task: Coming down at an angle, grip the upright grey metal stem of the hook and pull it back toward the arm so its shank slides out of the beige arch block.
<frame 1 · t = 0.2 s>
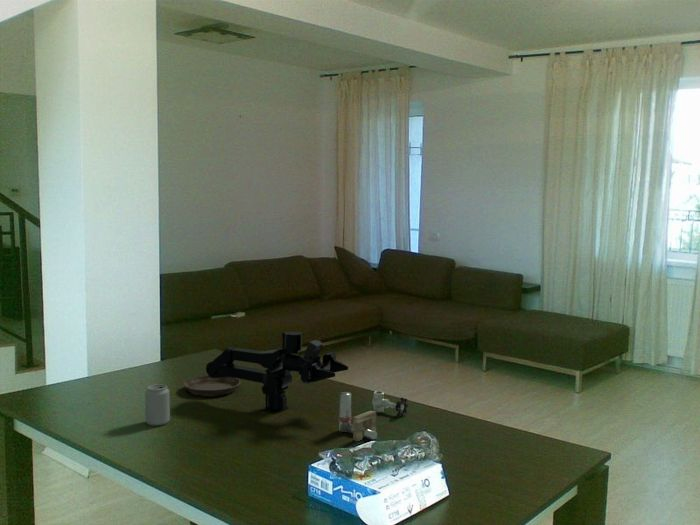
hand: (341, 371, 218), 16 cm above the table, tool horizontal, fingers open, 9 cm apart
plant saucer: (212, 391, 252), on the table
beige arch block: (364, 438, 204), on the table
can: (157, 423, 216), on the table
valve: (388, 414, 227), on the table
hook: (345, 431, 210), on the table, slide at 0.0 cm
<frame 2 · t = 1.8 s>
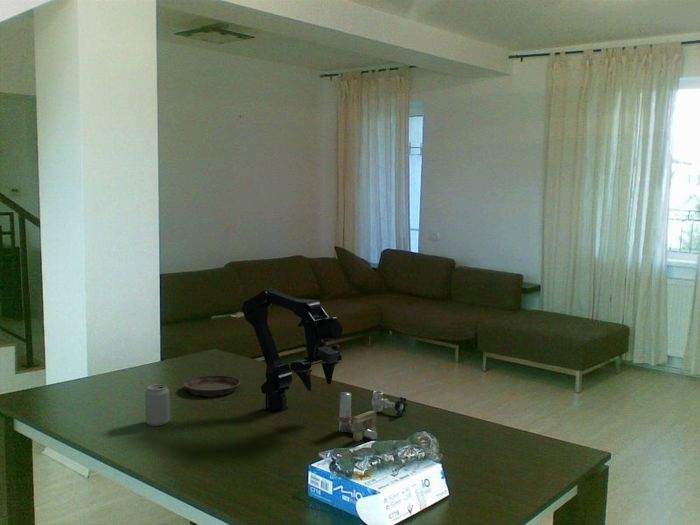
hand: (319, 387, 218), 11 cm above the table, tool pointing down, fingers open, 9 cm apart
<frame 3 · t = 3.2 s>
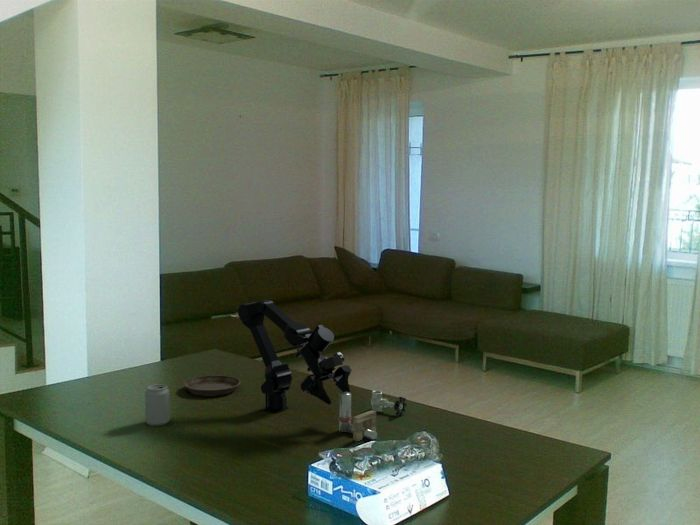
hand: (340, 400, 210), 10 cm above the table, tool tilted 45°, fingers open, 9 cm apart
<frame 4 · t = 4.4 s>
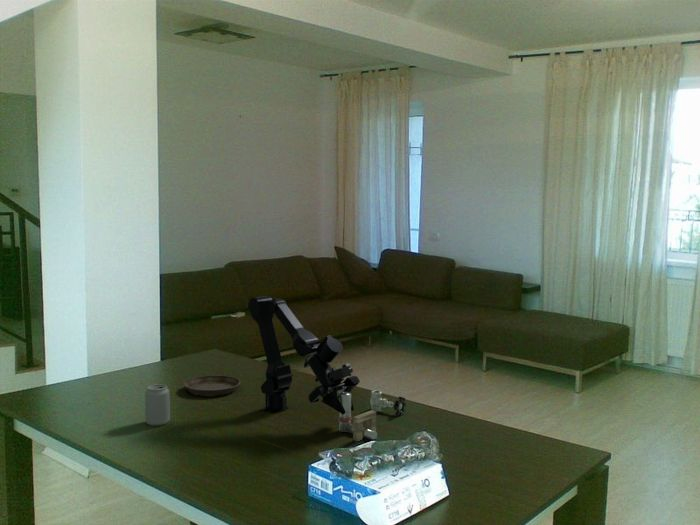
hand: (348, 412, 208), 7 cm above the table, tool tilted 45°, fingers closed on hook, 4 cm apart
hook: (345, 431, 210), on the table, slide at 0.0 cm, touching gripper
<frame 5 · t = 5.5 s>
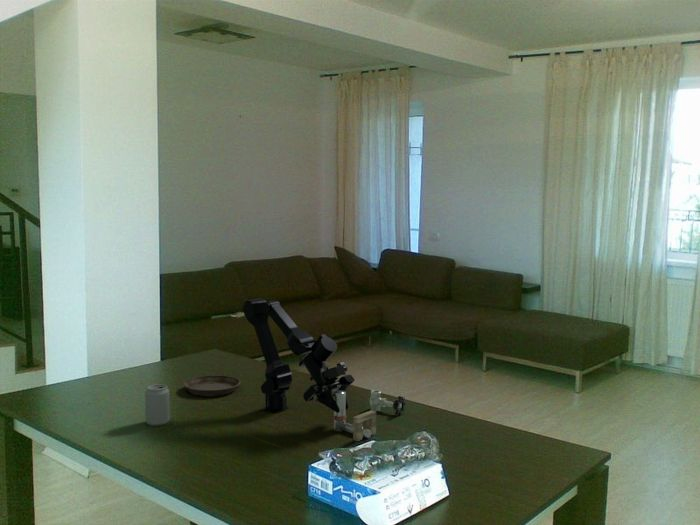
hand: (343, 410, 210), 7 cm above the table, tool tilted 45°, fingers closed on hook, 4 cm apart
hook: (339, 429, 211), on the table, slide at 2.3 cm, touching gripper
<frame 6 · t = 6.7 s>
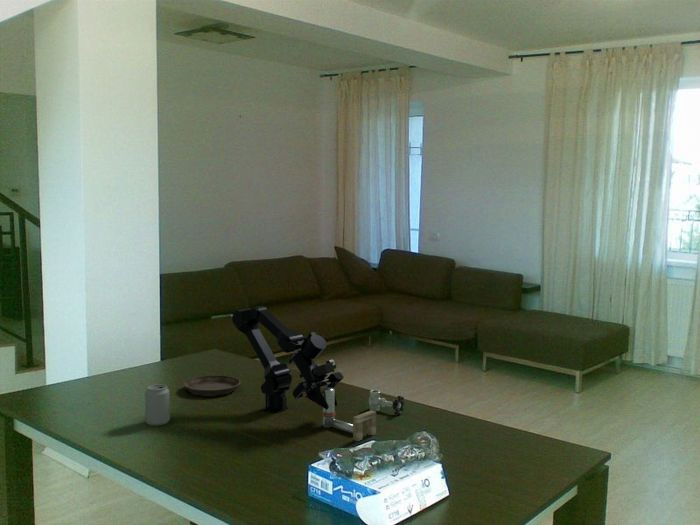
hand: (332, 407, 213), 7 cm above the table, tool tilted 45°, fingers closed on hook, 4 cm apart
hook: (328, 425, 214), on the table, slide at 7.0 cm, touching gripper
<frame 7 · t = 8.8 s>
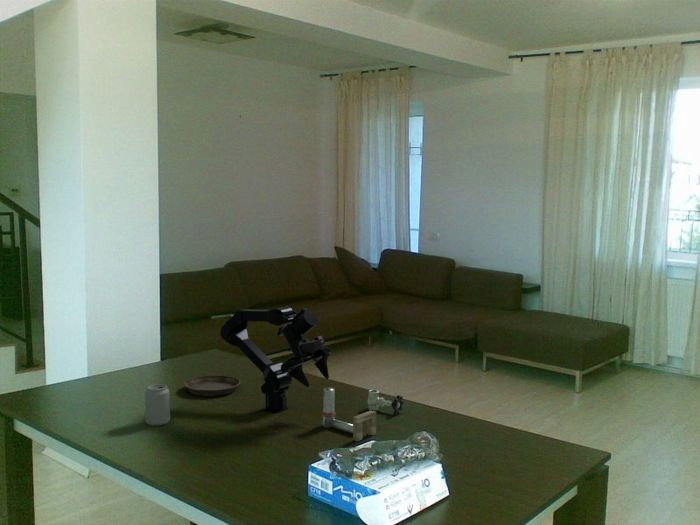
hand: (318, 382, 219), 13 cm above the table, tool tilted 35°, fingers open, 9 cm apart
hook: (328, 425, 214), on the table, slide at 7.0 cm
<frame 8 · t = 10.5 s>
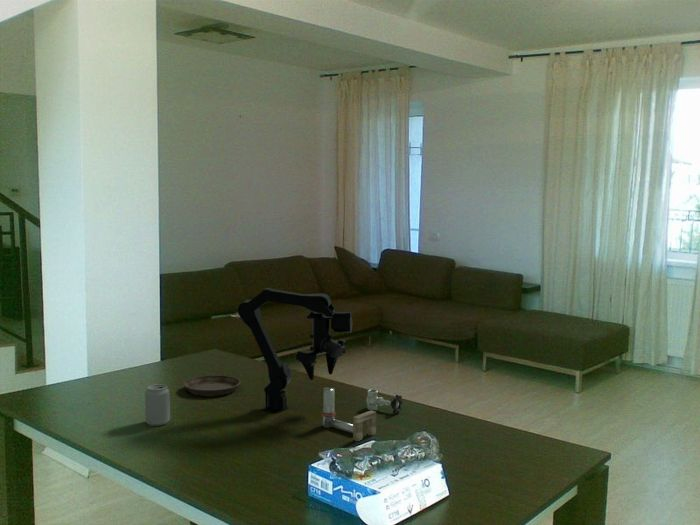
hand: (321, 377, 227), 12 cm above the table, tool pointing down, fingers open, 9 cm apart
at the end: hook slide at 7.0 cm; the gripper is holding nothing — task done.
